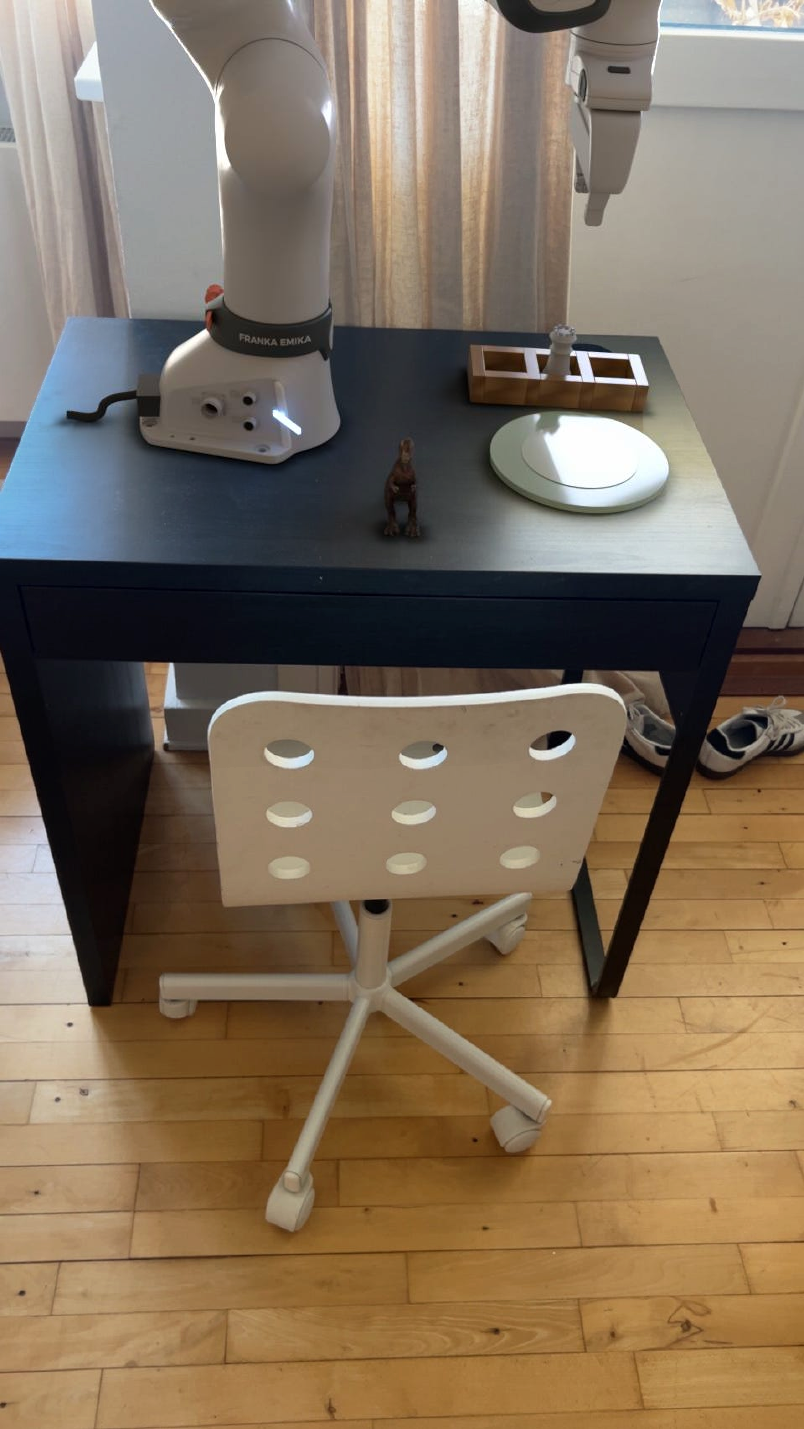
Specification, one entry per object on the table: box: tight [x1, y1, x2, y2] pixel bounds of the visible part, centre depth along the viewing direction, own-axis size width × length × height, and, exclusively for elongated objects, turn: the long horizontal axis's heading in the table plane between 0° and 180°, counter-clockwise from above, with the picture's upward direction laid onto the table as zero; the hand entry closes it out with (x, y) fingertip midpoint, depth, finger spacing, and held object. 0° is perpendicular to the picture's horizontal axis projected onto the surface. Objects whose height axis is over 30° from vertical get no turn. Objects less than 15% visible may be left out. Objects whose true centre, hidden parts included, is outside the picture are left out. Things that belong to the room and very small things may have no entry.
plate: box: [488, 410, 670, 514], centre depth 130 cm, size 20×20×1 cm
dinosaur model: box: [383, 437, 421, 538], centre depth 117 cm, size 4×12×15 cm
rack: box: [466, 344, 650, 413], centre depth 141 cm, size 21×8×4 cm, turn 91°
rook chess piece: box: [541, 323, 578, 375], centre depth 140 cm, size 4×4×8 cm
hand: (586, 207), depth 126 cm, fingers open, 8 cm apart
